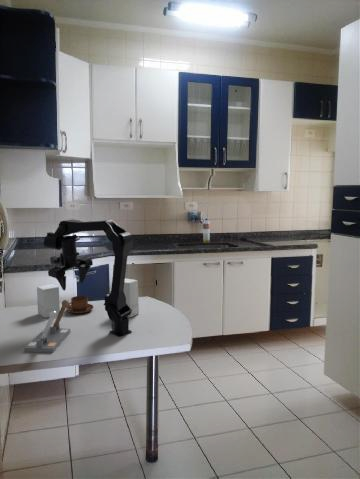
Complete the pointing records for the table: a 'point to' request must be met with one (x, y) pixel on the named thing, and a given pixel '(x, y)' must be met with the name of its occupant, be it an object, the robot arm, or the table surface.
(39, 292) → the supplement box
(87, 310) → the cup and saucer
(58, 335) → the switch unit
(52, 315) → the steel lever
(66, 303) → the walnut lever
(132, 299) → the skincare box
